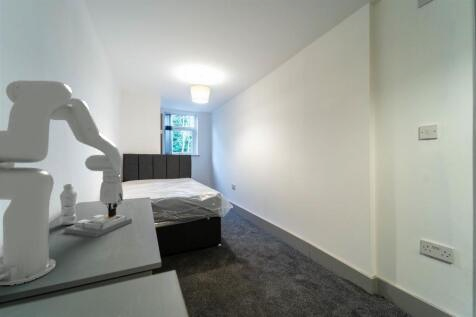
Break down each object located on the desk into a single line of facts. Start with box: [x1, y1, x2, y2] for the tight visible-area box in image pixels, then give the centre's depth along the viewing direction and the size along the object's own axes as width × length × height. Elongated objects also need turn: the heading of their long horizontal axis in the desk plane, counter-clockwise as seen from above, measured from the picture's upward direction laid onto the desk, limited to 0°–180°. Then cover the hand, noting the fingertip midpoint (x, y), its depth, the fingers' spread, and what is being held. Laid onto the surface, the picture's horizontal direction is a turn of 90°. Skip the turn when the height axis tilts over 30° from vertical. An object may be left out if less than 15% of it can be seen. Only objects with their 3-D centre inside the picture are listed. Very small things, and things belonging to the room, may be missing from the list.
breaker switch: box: [94, 216, 117, 224], centre depth 98 cm, size 8×5×1 cm, turn 166°
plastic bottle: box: [59, 183, 78, 226], centre depth 101 cm, size 6×7×20 cm
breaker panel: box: [64, 214, 133, 238], centre depth 99 cm, size 20×18×4 cm
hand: (112, 215), depth 101 cm, fingers closed
